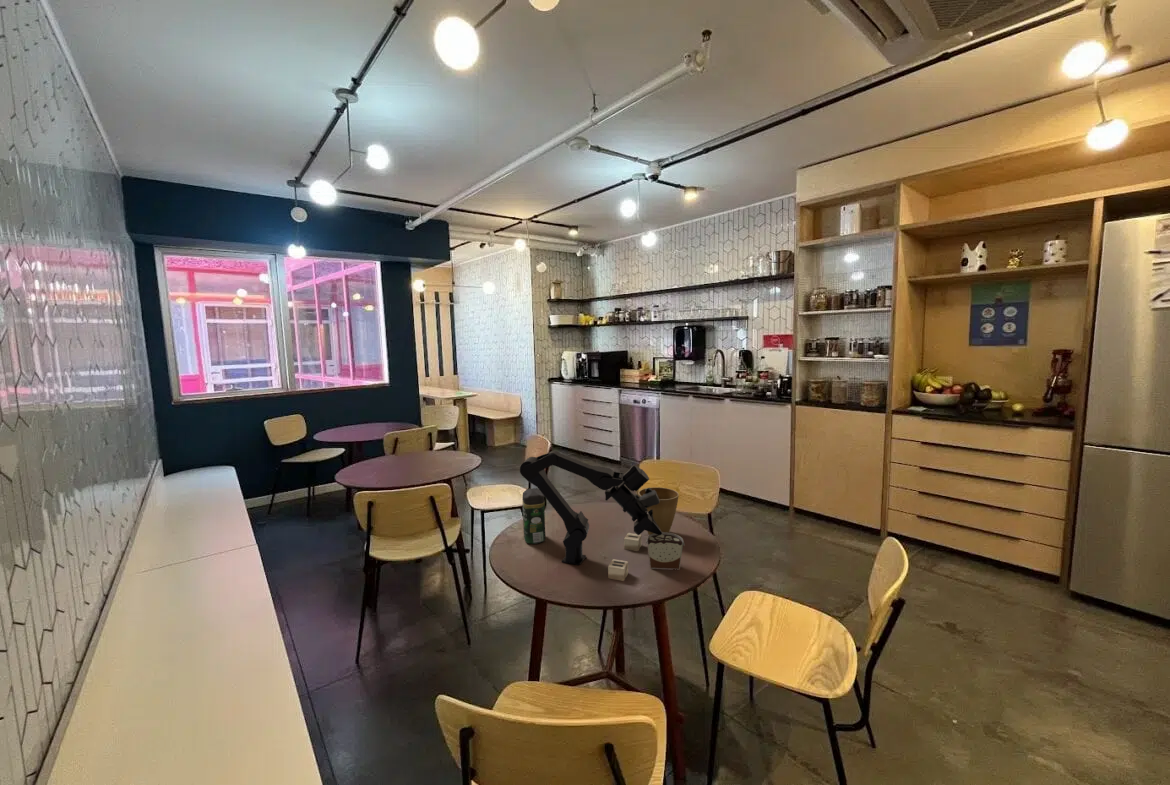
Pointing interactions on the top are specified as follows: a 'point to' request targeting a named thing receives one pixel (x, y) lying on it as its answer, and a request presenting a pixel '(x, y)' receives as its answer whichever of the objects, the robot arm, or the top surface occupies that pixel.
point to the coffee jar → (533, 516)
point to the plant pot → (663, 507)
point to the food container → (665, 550)
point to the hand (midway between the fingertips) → (661, 533)
